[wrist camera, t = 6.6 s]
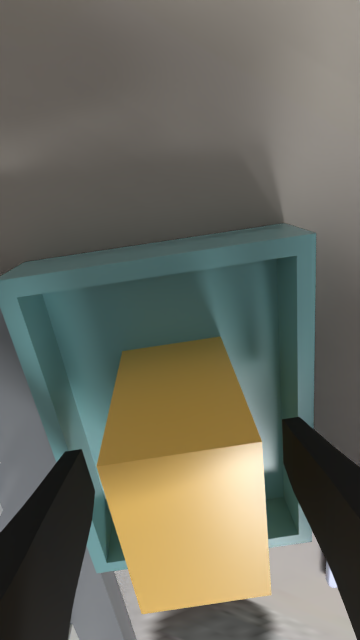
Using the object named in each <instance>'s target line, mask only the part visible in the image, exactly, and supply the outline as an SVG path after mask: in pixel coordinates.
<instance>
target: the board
mask: <svg viewBox="0 0 360 640" xmlns="http://www.w3.org/2000/svg"><path fill="white" fill-rule="evenodd" d="M55 464H56V460H55V457H54V455H53V452H52V449H51V446H50V444H49V441H48V438H47V435H46V432H45V430H44V427H43V424H42V421H41V419H40V416H39V413H38V410H37V408H36V405H35V402H34V399H33V397H32V394H31V391H30V388H29V386H28V383H27V380H26V377H25V375H24V372H23V369H22V366H21V364H20V361H19V358H18V355H17V353H16V350H15V347H14V344H13V342H12V339H11V336H10V333H9V330H8V328H7V325H6V322H5V319H4V317H3V314H2V311H1V308H0V532H1V531H2V530H3V529H4V528H5V527H6V525H7V524H8V523H9V522H10V521H11V519H12V518H13V517H14V516H15V515H16V514H17V512H18V511H19V510H20V509H21V508H22V506H23V505H24V504H25V503H26V501H27V500H28V499H29V498H30V496H31V495H32V494H33V493H34V491H35V490H36V489H37V487H38V486H39V485H40V484H41V482H42V481H43V480H44V478H45V477H46V476H47V474H48V473H49V472H50V470H51V469H52V468H53V466H54V465H55ZM71 624H73V627H74V629H75V631H76V633H77V636H78V638H79V640H136V637H135V634H134V631H133V628H132V625H131V622H130V619H129V616H128V613H127V610H126V607H125V604H124V601H123V598H122V595H121V592H120V589H119V586H118V583H117V580H116V577H115V574H114V571H110V572H103V573H96V570H95V568H94V565H93V562H92V559H91V557H90V554H89V551H88V548H87V546H86V550H85V554H84V559H83V563H82V567H81V572H80V576H79V580H78V585H77V589H76V593H75V598H74V604H73V609H72V615H71V622H70V625H71Z"/></svg>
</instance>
